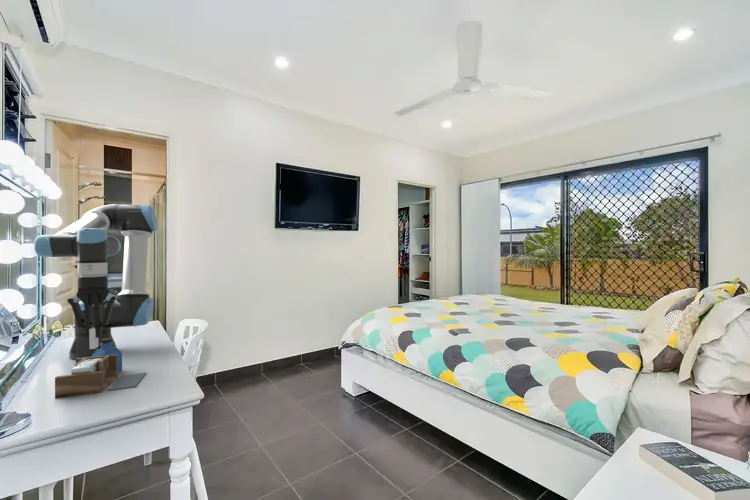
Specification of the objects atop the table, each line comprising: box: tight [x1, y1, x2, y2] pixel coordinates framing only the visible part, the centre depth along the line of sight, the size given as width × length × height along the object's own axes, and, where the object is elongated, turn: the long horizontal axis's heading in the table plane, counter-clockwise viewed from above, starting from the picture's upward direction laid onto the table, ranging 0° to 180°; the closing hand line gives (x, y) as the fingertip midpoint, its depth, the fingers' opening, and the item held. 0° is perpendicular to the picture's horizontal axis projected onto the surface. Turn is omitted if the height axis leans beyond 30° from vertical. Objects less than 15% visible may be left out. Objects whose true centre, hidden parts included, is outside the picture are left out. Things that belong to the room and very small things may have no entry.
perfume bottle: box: [91, 338, 123, 373], centre depth 120 cm, size 6×6×12 cm
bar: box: [71, 358, 103, 375], centre depth 107 cm, size 10×5×4 cm, turn 21°
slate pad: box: [107, 372, 147, 391], centre depth 111 cm, size 13×7×1 cm, turn 21°
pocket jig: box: [54, 354, 119, 399], centre depth 108 cm, size 14×11×8 cm
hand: (94, 347), depth 112 cm, fingers closed
